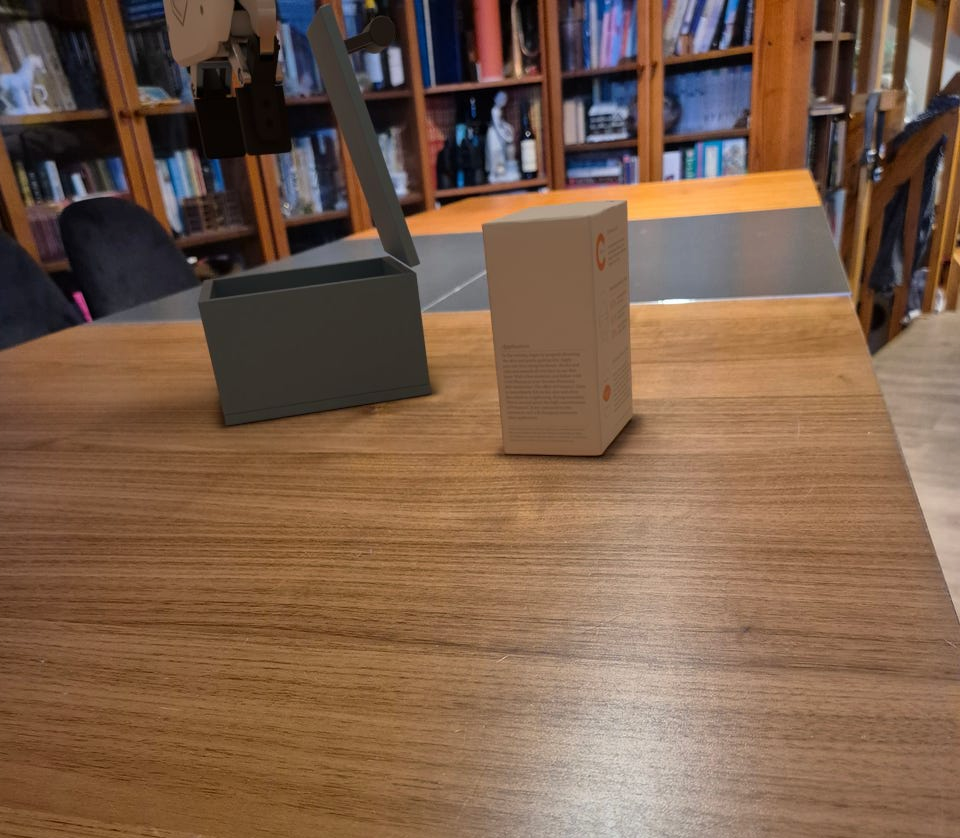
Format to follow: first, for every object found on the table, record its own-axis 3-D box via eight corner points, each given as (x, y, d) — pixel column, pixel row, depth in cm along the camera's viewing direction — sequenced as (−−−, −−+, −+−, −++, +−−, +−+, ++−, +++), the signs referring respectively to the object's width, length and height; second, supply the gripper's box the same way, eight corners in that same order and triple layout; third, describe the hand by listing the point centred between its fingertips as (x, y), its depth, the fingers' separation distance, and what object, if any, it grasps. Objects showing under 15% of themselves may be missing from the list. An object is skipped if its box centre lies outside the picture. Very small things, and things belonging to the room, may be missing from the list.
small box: (542, 417, 63) (527, 205, 56) (634, 417, 60) (630, 197, 54) (500, 455, 56) (478, 221, 50) (602, 457, 54) (592, 212, 48)
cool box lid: (318, 7, 59) (391, -22, 59) (305, 32, 70) (366, 8, 71) (410, 268, 67) (474, 242, 67) (384, 251, 79) (439, 230, 79)
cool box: (226, 426, 69) (197, 302, 65) (227, 387, 81) (203, 280, 76) (431, 394, 71) (416, 272, 67) (403, 361, 83) (389, 255, 79)
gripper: (106, -114, 64) (165, 163, 72) (170, -193, 51) (233, 157, 59) (212, -109, 67) (257, 155, 76) (298, -183, 54) (341, 148, 62)
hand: (246, 156), depth 67 cm, fingers open, 9 cm apart
